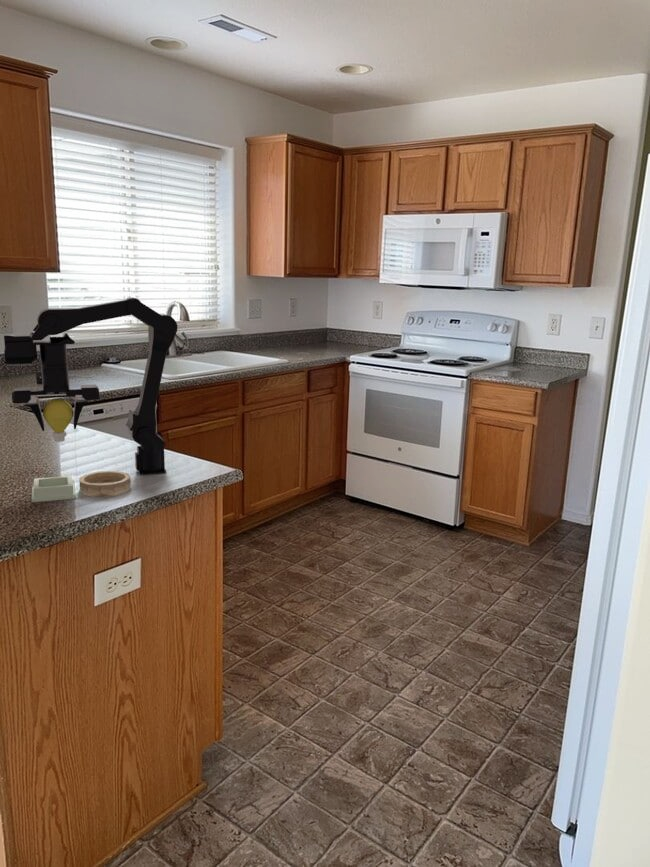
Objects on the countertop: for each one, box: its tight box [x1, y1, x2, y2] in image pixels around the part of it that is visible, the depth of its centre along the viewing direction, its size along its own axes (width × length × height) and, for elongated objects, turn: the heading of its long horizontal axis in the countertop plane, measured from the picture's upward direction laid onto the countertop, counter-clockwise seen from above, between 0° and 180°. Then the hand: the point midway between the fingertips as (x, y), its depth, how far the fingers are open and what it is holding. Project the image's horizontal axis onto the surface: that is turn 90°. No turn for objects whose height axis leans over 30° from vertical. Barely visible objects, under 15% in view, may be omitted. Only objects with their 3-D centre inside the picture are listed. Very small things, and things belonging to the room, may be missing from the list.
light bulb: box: [42, 398, 74, 443], centre depth 158 cm, size 7×7×10 cm
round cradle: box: [78, 470, 132, 498], centre depth 154 cm, size 11×11×3 cm
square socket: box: [31, 475, 77, 503], centre depth 150 cm, size 9×9×3 cm
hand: (59, 429), depth 158 cm, fingers closed on light bulb, 6 cm apart
